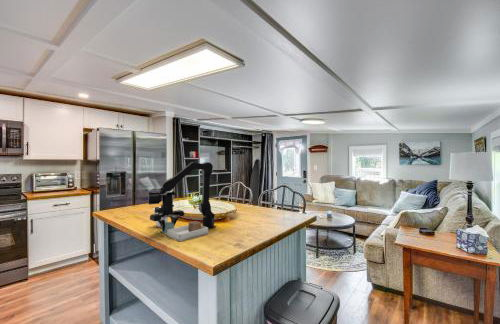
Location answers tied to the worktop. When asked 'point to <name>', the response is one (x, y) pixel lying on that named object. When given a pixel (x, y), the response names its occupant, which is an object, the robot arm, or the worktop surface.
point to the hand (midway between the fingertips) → (167, 230)
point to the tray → (186, 233)
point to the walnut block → (194, 226)
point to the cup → (157, 221)
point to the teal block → (168, 227)
